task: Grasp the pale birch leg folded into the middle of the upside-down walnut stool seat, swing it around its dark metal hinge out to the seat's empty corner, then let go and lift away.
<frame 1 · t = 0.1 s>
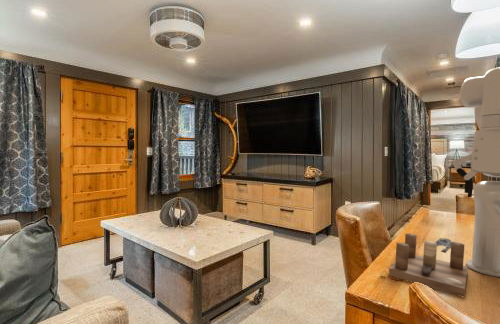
hand: (496, 199, 64), 31 cm above the table, tool pointing down, fingers open, 9 cm apart
driftwood: (442, 246, 126), on the table
hinged leg: (428, 257, 92), point 7 cm above the table, hinge at 0.0°
stool: (428, 274, 95), on the table
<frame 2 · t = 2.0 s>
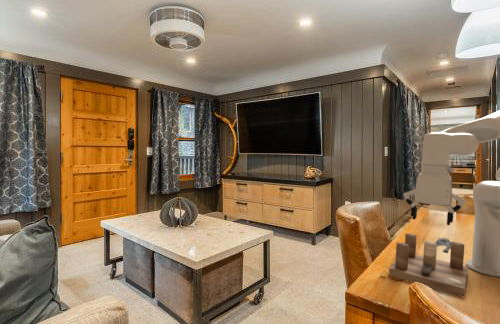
hand: (430, 221, 94), 18 cm above the table, tool pointing down, fingers open, 9 cm apart
nothing on the table moved.
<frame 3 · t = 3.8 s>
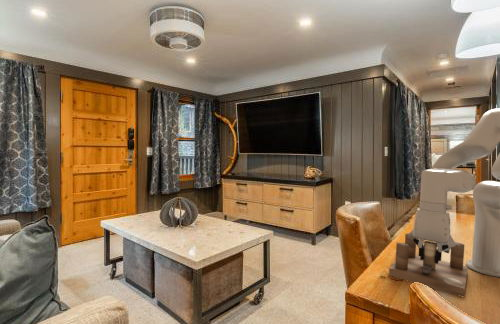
hand: (429, 260, 95), 5 cm above the table, tool pointing down, fingers closed on hinged leg, 3 cm apart
hinged leg: (428, 257, 92), point 7 cm above the table, hinge at 0.0°, touching gripper
everything else where it was.
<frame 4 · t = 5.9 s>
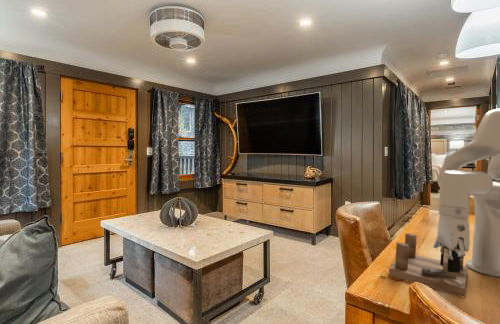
hand: (449, 268, 89), 5 cm above the table, tool pointing down, fingers closed on hinged leg, 3 cm apart
hinged leg: (439, 261, 89), point 7 cm above the table, hinge at 56.7°, touching gripper
everything else where it was.
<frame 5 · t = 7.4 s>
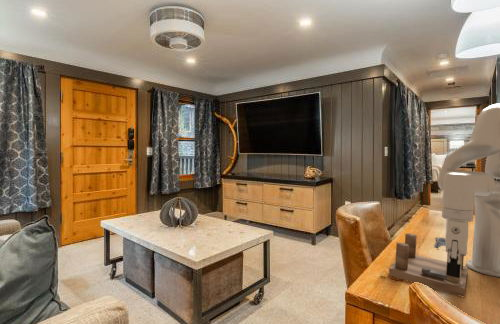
hand: (453, 273, 85), 5 cm above the table, tool pointing down, fingers closed on hinged leg, 3 cm apart
hinged leg: (441, 263, 87), point 7 cm above the table, hinge at 86.8°, touching gripper
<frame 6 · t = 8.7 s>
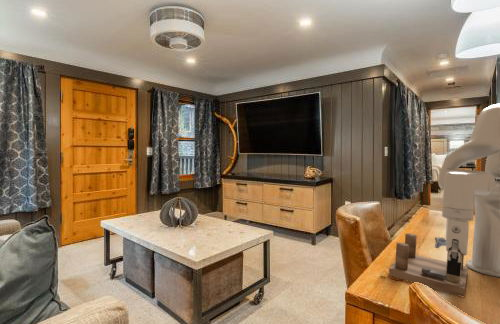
hand: (454, 269, 85), 6 cm above the table, tool pointing down, fingers open, 9 cm apart
hinged leg: (441, 263, 87), point 7 cm above the table, hinge at 86.9°
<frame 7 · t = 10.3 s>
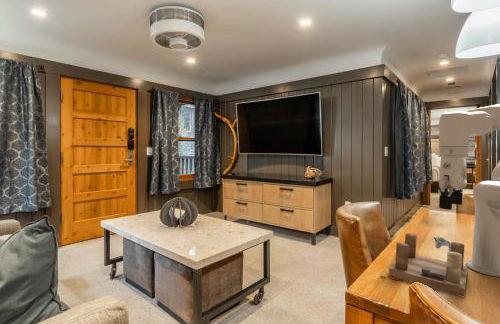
hand: (450, 206, 89), 24 cm above the table, tool pointing down, fingers open, 9 cm apart
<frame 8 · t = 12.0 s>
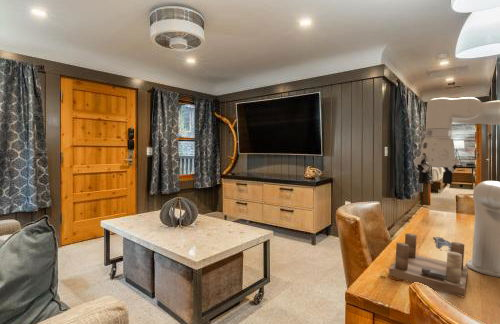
hand: (435, 183, 99), 30 cm above the table, tool pointing down, fingers open, 9 cm apart
at the end: hinged leg at +87° (first picture: +0°); the gripper is holding nothing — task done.
